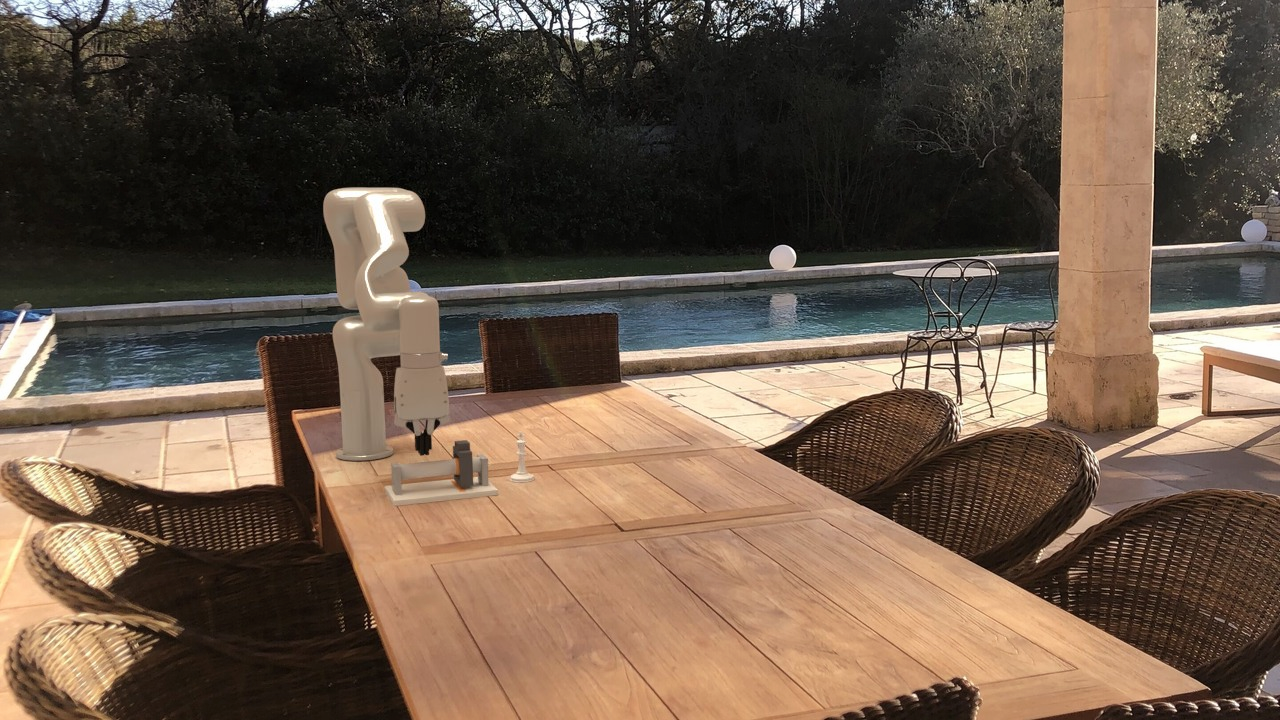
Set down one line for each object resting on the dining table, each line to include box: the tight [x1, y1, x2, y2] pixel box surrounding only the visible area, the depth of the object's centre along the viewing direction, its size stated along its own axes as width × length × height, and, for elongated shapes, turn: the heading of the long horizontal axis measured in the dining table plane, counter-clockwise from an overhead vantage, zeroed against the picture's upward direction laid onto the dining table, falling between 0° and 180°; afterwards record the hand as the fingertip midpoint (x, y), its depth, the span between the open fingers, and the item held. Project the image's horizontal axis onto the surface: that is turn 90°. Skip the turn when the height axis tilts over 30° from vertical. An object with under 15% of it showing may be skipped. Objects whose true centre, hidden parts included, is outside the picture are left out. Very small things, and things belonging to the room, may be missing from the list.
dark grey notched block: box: [452, 439, 474, 487], centre depth 221 cm, size 2×7×8 cm, turn 21°
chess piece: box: [509, 431, 535, 484], centre depth 229 cm, size 5×5×10 cm
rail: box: [384, 454, 499, 507], centre depth 220 cm, size 20×12×7 cm, turn 111°
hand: (423, 453), depth 218 cm, fingers closed
